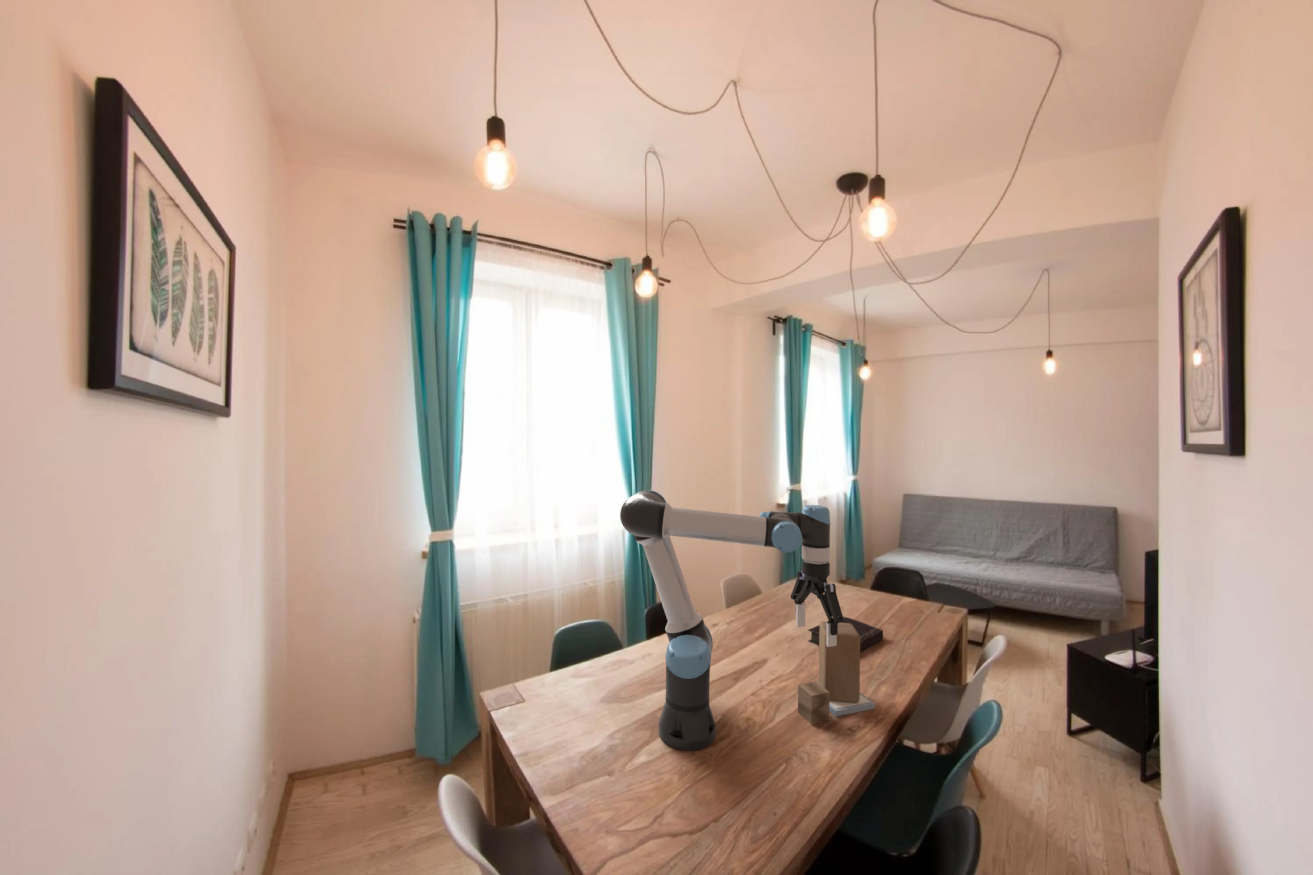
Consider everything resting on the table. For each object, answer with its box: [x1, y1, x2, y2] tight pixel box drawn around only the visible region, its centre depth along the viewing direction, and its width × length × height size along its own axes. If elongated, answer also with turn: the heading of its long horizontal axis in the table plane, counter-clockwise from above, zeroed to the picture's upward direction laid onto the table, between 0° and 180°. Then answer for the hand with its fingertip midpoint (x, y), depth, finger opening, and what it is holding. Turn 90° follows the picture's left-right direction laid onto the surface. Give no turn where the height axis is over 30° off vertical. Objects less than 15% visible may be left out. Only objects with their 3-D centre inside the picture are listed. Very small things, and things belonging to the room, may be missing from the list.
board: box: [829, 692, 876, 718], centre depth 140 cm, size 14×14×2 cm
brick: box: [797, 681, 830, 726], centre depth 131 cm, size 6×6×8 cm
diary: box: [807, 615, 884, 653], centre depth 181 cm, size 19×25×5 cm
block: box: [818, 620, 861, 703], centre depth 140 cm, size 10×10×20 cm
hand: (815, 635), depth 131 cm, fingers open, 13 cm apart
